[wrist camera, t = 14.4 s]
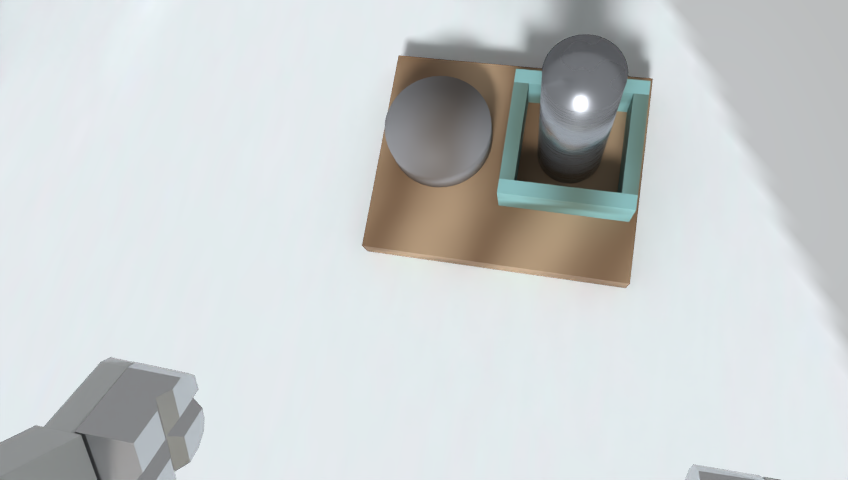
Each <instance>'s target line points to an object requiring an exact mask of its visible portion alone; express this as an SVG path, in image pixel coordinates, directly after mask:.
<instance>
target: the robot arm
mask: <svg viewBox="0 0 848 480" xmlns="http://www.w3.org/2000/svg"><path fill="white" fill-rule="evenodd" d="M197 391H198V386H197V382H196V378H195V375H192V374H189V373H185V372H180V371H176V370H171V369H166V368H161V367H157V366H152V365H147V364H142V363H138V362H131V361H126V360H121V359H117V358H112V357H110V358H108V359H106V360H104V361H102V362H101V363H99V365H98V366H97V367H96V368H95V369H94V370H93V371H92V372H91V374H90V375H89V376H88V377H87V378H86V379H85V380H84V382H83V383H82V384H81V385H80V386H79V387H78V388H77V390H76V391H75V392H74V393H73V394H72V395H71V396H70V397H69V399H68V400H67V401H66V402H65V403H64V404H63V405H62V407H61V408H60V409H59V410H58V411H57V412H56V413H55V414H54V416H53V417H52V418H51V419H50V420H49V421H48V422H47V424H46V425H45V426H44V427H42V426H33V427H31V428H29V429H27V430H25V431H23V432H21V433H19V434H17V435H15V436H13V437H11V438H9V439H7V440H5V441H3V442H1V443H0V480H176V475H175V471H176V470H178V469H180V468H181V467H183V466H185V465H186V464H188V463H190V462H191V460H192V458H193V456H194V455H195V453H196V451H197V450H198V448H199V445H200V441H201V438H202V435H203V432H204V414H203V409H202V407H201V406H200V405H199V404H198V403H197V402H196V401H195V400H194V398H193V397H194V395H195V394H196V392H197ZM685 480H779V479H773V478H768V477H761V476H759V475H753V474H747V473H741V472H735V471H730V470H724V469H718V468H712V467H706V466H700V465H693V466H692V467H691V468H690V469H689V471H688V474H687V476H686V479H685Z"/></svg>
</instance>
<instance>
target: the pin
mask: <svg viewBox="0 0 848 480" xmlns="http://www.w3.org/2000/svg"><path fill="white" fill-rule="evenodd" d="M627 78H628V67H627V63H626V60H625V57H624V56H623V54H622V52H621V51H620V50H619V48H618V47H616V46H615V45H614V44H613V43H612V42H610V41H608V40H607V39H605V38H602V37H599V36H595V35H576V36H572V37H569V38H567V39H565V40H563V41H561V42H560V43H558V44H557V45H556V46H554V47H553V48H552V50H551V51H550V52H549V53H548V55H547V57H546V59H545V61H544V64H543V68H542V81H541V99H540V116H539V134H538V152H537V155H538V161H539V164H540V166H541V168H542V170H543V171H544V172H545V173H546V174H547V175H548V176H549V177H550V178H552V179H554V180H556V181H558V182H561V183H578V182H581V181H583V180H586V179H587V178H589V177H590V176H591V175H593V174H594V172H595V171H596V170H597V169H598V167H599V165H600V162H601V159H602V156H603V153H604V150H605V147H606V144H607V141H608V138H609V135H610V132H611V129H612V125H613V122H614V119H615V116H616V113H617V110H618V107H619V104H620V101H621V98H622V95H623V92H624V89H625V86H626V83H627Z"/></svg>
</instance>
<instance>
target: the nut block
mask: <svg viewBox="0 0 848 480" xmlns="http://www.w3.org/2000/svg"><path fill="white" fill-rule="evenodd" d="M652 80H653V79H651V78H640V77H629V76H628V78H627V83H626V86H625V89H624V92H623V95H622V98H621V101H620V104H619V107H618V110H617V113H616V116H615V119H614V122H613V125H612V129H611V132H610V135H609V138H608V141H607V144H606V147H605V150H604V153H603V156H602V159H601V162H600V165H599V167H598V169H597V170H596V171H595V172H594V174H593V175H591V176H590V177H589V178H587V179H586V180H583V181H581V182H578V183H561V182H558V181H556V180H554V179H552V178H550V177H549V176H548V175H547V174H546V173H545V172H544V171H543V170H542V168H541V166H540V164H539V161H538V155H537V152H538V134H539V116H540V99H541V81H542V68H531V67H520V66H509V65H498V64H487V63H476V62H465V61H454V60H443V59H432V58H421V57H410V56H399V57H398V62H397V67H396V72H395V77H394V82H393V88H392V93H391V98H390V103H389V108H388V113H387V116H386V120H385V129H384V134H383V140H382V145H381V150H380V155H379V160H378V166H377V171H376V176H375V181H374V186H373V192H372V197H371V202H370V207H369V212H368V218H367V223H366V228H365V233H364V238H363V243H362V246H363V247H364V248H365V249H366V250H367V251H371V252H378V253H385V254H392V255H399V256H406V257H413V258H420V259H427V260H434V261H441V262H448V263H455V264H462V265H469V266H476V267H483V268H490V269H497V270H504V271H511V272H518V273H525V274H532V275H539V276H546V277H553V278H560V279H567V280H574V281H581V282H588V283H595V284H602V285H609V286H616V287H623V288H626V287H627V286H628V285H629V284H630V277H631V268H632V259H633V250H634V241H635V232H636V223H637V214H638V205H639V196H640V187H641V178H642V169H643V160H644V151H645V142H646V133H647V125H648V116H649V107H650V98H651V89H652Z"/></svg>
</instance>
